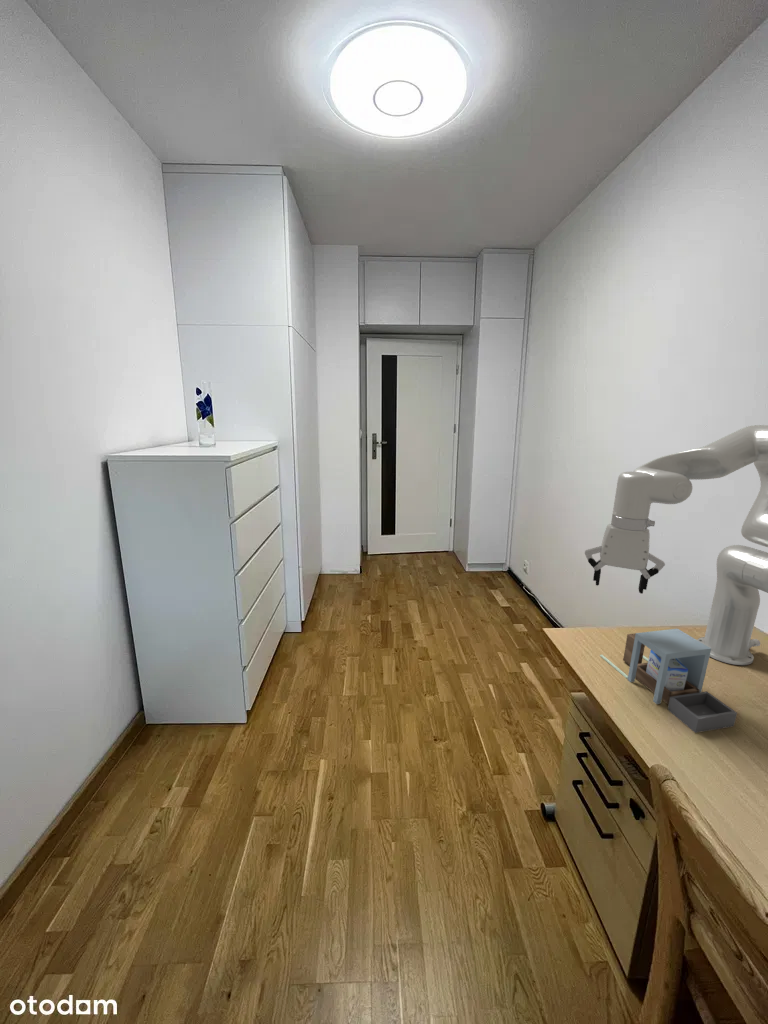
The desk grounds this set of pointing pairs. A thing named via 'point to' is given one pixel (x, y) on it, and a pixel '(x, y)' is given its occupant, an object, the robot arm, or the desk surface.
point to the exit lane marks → (617, 667)
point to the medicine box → (668, 672)
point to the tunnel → (672, 656)
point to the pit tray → (702, 711)
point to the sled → (646, 678)
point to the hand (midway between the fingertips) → (618, 587)
